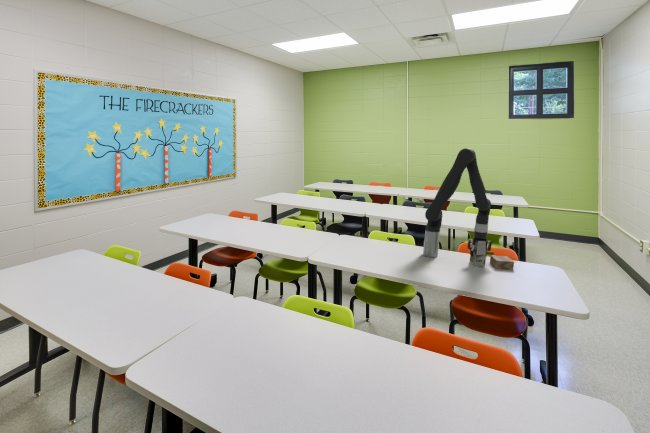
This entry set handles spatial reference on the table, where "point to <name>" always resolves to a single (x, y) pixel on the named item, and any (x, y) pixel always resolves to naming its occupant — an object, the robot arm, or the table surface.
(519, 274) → the table surface
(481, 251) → the coffee box
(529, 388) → the table surface
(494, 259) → the walnut block
